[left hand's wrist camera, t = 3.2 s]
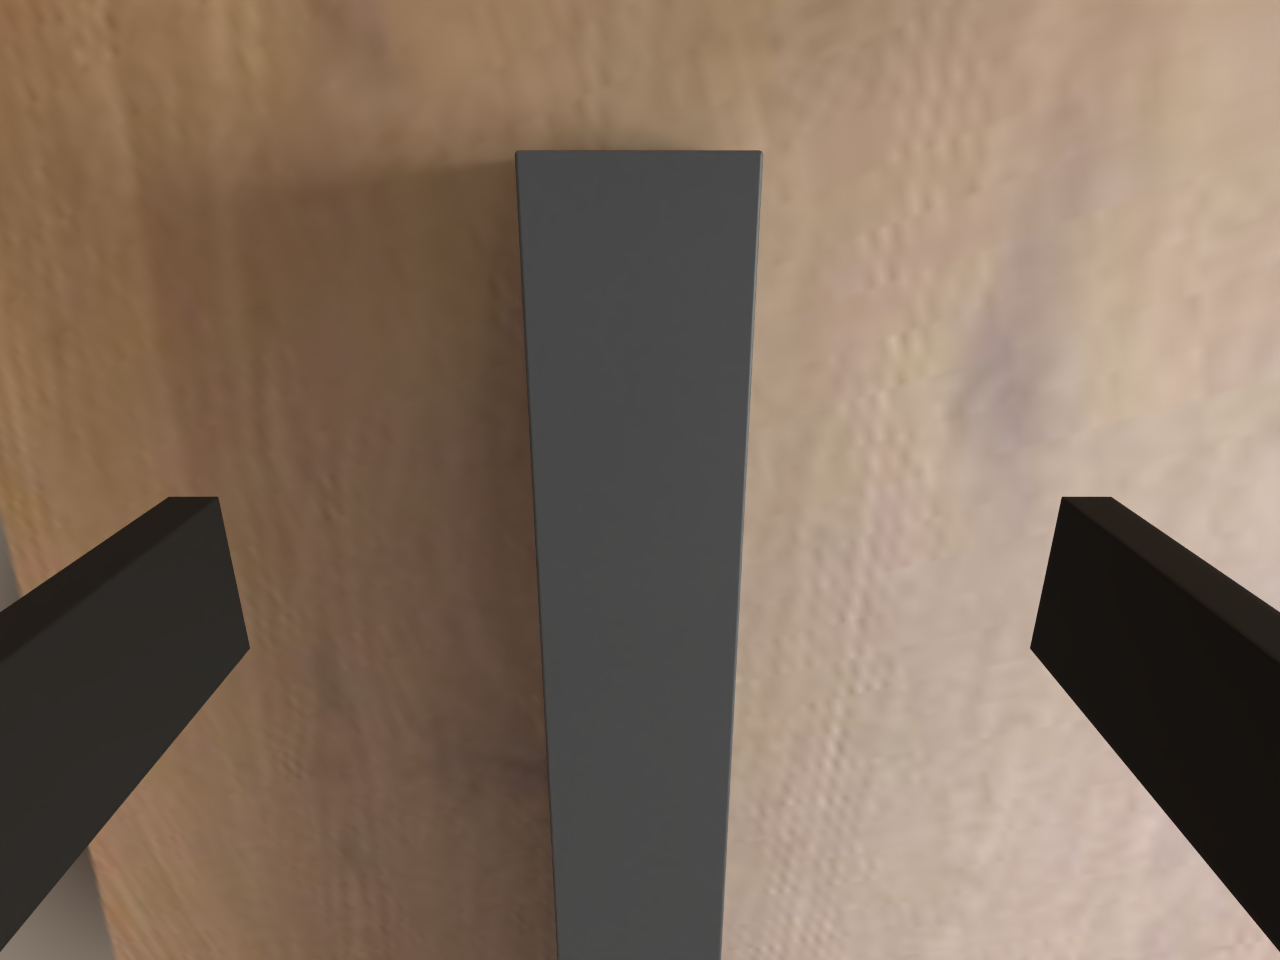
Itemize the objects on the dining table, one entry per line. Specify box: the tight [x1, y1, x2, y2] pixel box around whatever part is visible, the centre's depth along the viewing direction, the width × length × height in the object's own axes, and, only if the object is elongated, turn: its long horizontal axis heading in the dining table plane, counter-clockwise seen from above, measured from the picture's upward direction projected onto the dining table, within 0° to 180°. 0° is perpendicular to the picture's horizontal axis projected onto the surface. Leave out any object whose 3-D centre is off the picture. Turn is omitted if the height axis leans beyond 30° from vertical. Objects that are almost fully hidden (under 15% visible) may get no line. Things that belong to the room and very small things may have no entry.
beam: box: [515, 151, 763, 960], centre depth 32 cm, size 59×6×7 cm, turn 0°
